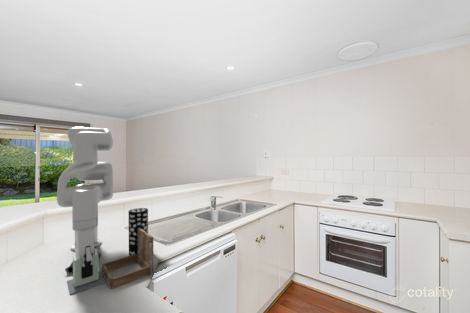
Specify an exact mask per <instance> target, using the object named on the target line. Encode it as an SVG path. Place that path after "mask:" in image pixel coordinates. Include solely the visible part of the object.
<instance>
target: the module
mask: <svg viewBox="0 0 470 313" xmlns="http://www.w3.org/2000/svg"><path fill="white" fill-rule="evenodd" d="M84 257H86V255H85V256H84ZM99 260H100V258H99V254H98V253H97V249H95V255H94V256H92V264H93V275H92V276H90V277H87V278H84V279H82V269H81V267H83V266H82V259H80V260H78V259H77V257H76V254H74V255H73V256H72V262H73V270H72V279H73V282H74V287H77V286H80V285H83V284H86V283H89V282H92V281H95V280H98V279H99V271H100V269H99V268H100V267H99V265H100V263H99ZM84 261H86V259H84Z"/></svg>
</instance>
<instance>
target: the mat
mask: <svg viewBox="0 0 470 313" xmlns="http://www.w3.org/2000/svg"><path fill="white" fill-rule="evenodd" d="M66 283H67V289H68V293H69V296H72V295H74V294H77V293H81V292H84V291H86V290H89V289H92V288H94V287H95V288H96V287H98V286H100V285H104V284H106V280H105V279H104V276H103V275H102V272H101V271H100V270H99V279H98V280H95V281H92V282H89V283H86V284H83V285H80V286H77V287H74V282H73V278H72V279H69V280H67V281H66Z"/></svg>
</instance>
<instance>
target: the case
mask: <svg viewBox="0 0 470 313" xmlns="http://www.w3.org/2000/svg"><path fill="white" fill-rule="evenodd" d="M134 263H137V264H138V265H139V266H140V267H141V268H139V269H135V270H133V271H130V272H127V273H124V274H121V275H119V276H116V277H113V276H112V274H111V272H110V271H111V270H115V269H118V268H121V267H125V266H127V265H131V264H134ZM154 269H155V268H154V236H152V235H151V234H150V233H149V232H148V233H147V232H146V231H144V230H143V229H141V228H138V254H134V255H131V256H129V255H128V256H125V257H121V258H118V259H115V260H111V261H107V262H105V263H102V264H101V274H103V275H102V276H103V278H105V279H104V280H105V282H107V284H108V286H109V288H110V289H111V290H112V289H115V288H118V287H121V286H123V285H126V284H128V283H131V282H135V281H136V280H139V279H142V278H144V277H148V276H150V277H151V276H153V274H154V271H155V270H154Z"/></svg>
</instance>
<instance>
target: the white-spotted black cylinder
mask: <svg viewBox="0 0 470 313" xmlns="http://www.w3.org/2000/svg"><path fill="white" fill-rule="evenodd" d="M138 228H141V229H143V230H144V231H146V232H147V233H148V234H149V209H148V208H146V207H138V208H137V207H136V208H132V209H128V256H131V255H134V254H138Z"/></svg>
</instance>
